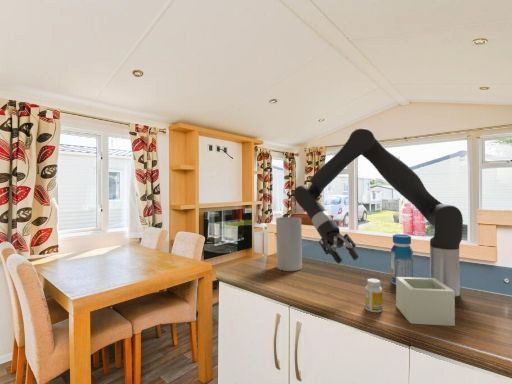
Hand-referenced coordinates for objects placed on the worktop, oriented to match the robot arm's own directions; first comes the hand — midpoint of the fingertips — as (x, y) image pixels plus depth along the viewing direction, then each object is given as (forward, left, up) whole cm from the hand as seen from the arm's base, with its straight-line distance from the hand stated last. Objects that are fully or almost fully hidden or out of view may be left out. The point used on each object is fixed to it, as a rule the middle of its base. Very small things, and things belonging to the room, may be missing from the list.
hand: (348, 260), depth 102 cm
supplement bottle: (+8, +7, -14) cm, 17 cm away
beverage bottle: (-19, +25, -14) cm, 34 cm away
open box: (+11, +21, -14) cm, 27 cm away
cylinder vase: (-37, -22, -14) cm, 46 cm away
